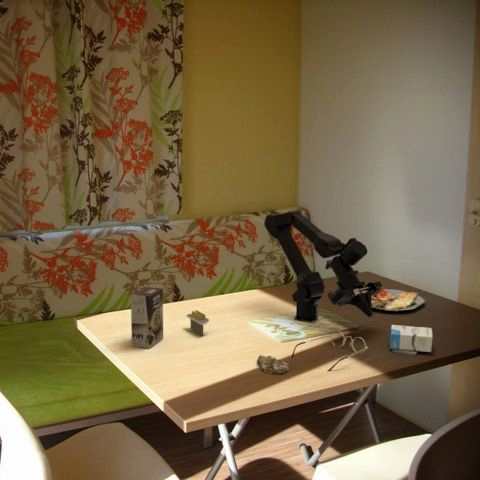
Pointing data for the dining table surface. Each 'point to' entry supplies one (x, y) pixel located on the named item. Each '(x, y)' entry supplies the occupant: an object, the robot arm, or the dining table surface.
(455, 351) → the dining table surface
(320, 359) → the dining table surface
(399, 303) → the food plate
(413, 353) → the mat
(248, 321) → the dining table surface
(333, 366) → the eyeglasses
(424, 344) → the ink box
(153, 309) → the coffee box
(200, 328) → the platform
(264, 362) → the mineral rock
